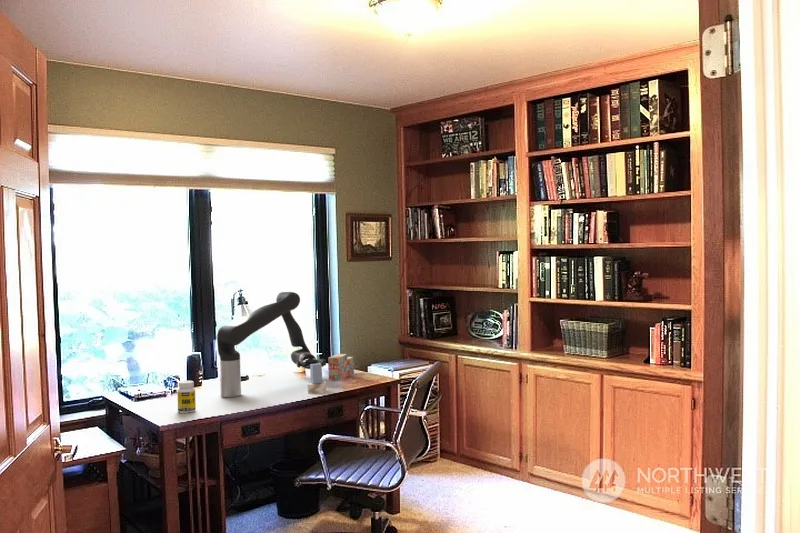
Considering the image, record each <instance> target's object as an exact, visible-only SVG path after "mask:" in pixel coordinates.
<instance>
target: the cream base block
mask: <svg viewBox="0 0 800 533" xmlns="http://www.w3.org/2000/svg"><path fill="white" fill-rule="evenodd" d="M326 391H327V381H322V383H317V384H312V383H311V381H310V382H309V383H308V384H307V393H308V395H309V394H310V393H324V394H325V392H326Z"/></svg>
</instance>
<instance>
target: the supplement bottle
mask: <svg viewBox="0 0 800 533" xmlns="http://www.w3.org/2000/svg"><path fill="white" fill-rule="evenodd" d="M193 411H194V412H195V411H196V388H195V383H194V381H193V380H182V381H179V382H178V389H177V412H178V413H179V412H180V413H179V414H189V413H188V412H191V413H194V412H193Z"/></svg>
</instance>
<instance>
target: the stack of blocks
mask: <svg viewBox="0 0 800 533" xmlns="http://www.w3.org/2000/svg"><path fill="white" fill-rule="evenodd" d="M327 359H328V360H327V362H328V365H327V366H328V381H334V380H340V381H341V379H342V380H344V379H345V377H346V378H348V377H349V376H351V375H353V374H354V373H355V363H354V356H348V353H347V354H346V353H336V354H334V355H332V356H329V357H328V358H327ZM348 375H349V376H348ZM347 376H348V377H347ZM343 378H344V379H343Z"/></svg>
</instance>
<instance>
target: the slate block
mask: <svg viewBox="0 0 800 533" xmlns="http://www.w3.org/2000/svg"><path fill="white" fill-rule="evenodd" d="M309 370H310V371H309V372H310V382H311V383H312V384H317V383H322V382H323V371H322V370H323V367H322V364H319V363H317V364H310V369H309Z"/></svg>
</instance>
